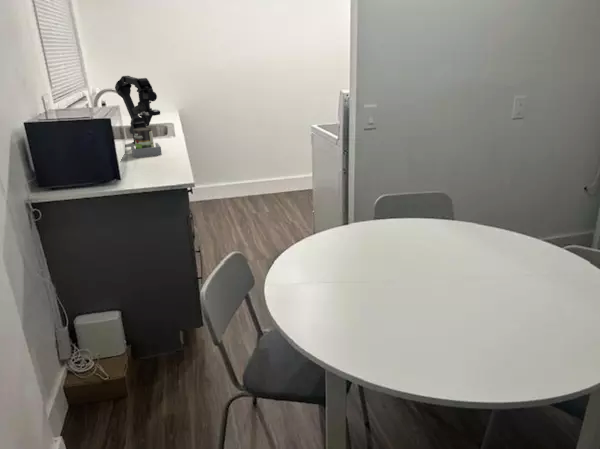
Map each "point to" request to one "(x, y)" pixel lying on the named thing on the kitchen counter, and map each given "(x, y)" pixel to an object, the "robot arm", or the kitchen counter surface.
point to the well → (146, 151)
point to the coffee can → (143, 137)
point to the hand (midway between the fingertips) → (147, 126)
